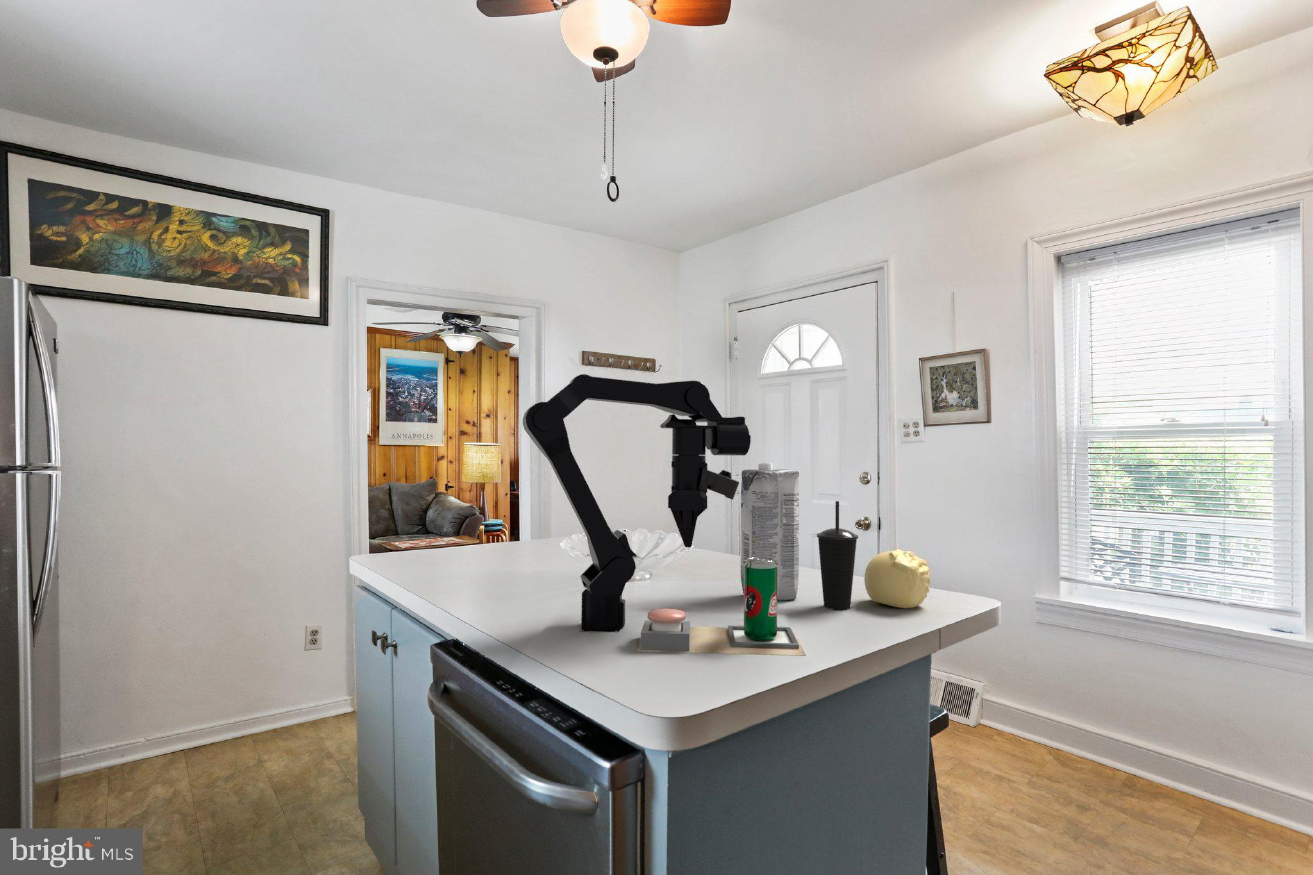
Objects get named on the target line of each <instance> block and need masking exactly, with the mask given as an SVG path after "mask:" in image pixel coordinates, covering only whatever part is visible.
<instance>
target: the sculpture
mask: <svg viewBox="0 0 1313 875" xmlns="http://www.w3.org/2000/svg"><path fill="white" fill-rule="evenodd" d="M927 562H928V561H927V560H925V559H923V558H921V557H919V556H917V555H916V553H915V552H914V551H910V550H908V551H906V550H901V549H900V548H896V549H895V550H889V551H883V552H880V553H878V554H876V555H874V556H873V557H872V558H871V559H870V561H869V562H868V564H867V565H866V566H867V567H866V568H865V570H864V576H863V577H864V587H865V591H866V593H867V595H868V597H869V599H870V600H872V601H873V602H875V603H878V604H883V605H886V606H891V607H894V608H900V609H913V608H916V607H917V606H919V605H921V604H923V603H924V601H925V599H926V598H927V597H928V593H929V592H930V588H929V586H930V584H931V573H930V572H929V571H930V568H929V566H928V563H927Z"/></svg>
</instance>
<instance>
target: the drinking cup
mask: <svg viewBox="0 0 1313 875" xmlns="http://www.w3.org/2000/svg"><path fill="white" fill-rule="evenodd" d="M834 504H835V511H834V512H835V519H834V520H835V522H834V524H835V527H833V528H827V529H825V530H822V531H821V532H818V533H816V538H817V540H818V551H819V564H820V575H821V576H820V578H821V588H822V598H823V607H824V608H826V609H830V610H837V611H843V610H849V609H850V608H851V604H852V603H851V602H852V591H853V584H854V582H853V581H854V571H855V561H856V551H857V541H858V539H859V535H858V534H856V533H853V532H852V531H850V530H849V529H848V530H847V529H844V528H840V500H836V501H835V502H834Z"/></svg>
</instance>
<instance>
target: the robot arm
mask: <svg viewBox="0 0 1313 875" xmlns="http://www.w3.org/2000/svg"><path fill="white" fill-rule="evenodd" d="M710 396H711V395H710V391H709V388H708V387H707V386H706V385H705V383H703V382H702V381H699V380H684V381H683V380H681V381H670V382H664V383H663V382H662V383H656V382H655V383H653V382H644V381H637V380H636V381H635V380H625V379H618V378H617V379H616V378H611V377H610V378H608V377H601V376H600V377H599V376H592V375H589V374H586V373H583V374H579V375H576V376H575V377H573V378H572V379H571V380H570V381H569V384H567V385H566V386H564V387H563V388H562V389H561V390H560V391H558V392H557V393H556V394H555V395H553V396H552V397H551V398H550V399H548V401H540V402H537V403H534V404H533V405H532V406H530V407H529V408H528V409H527V410H526V411H524V415H523V417H522V426H523V429H524V432H526V434H527V435H528V437H529V438H530V439H531V440H532V442H533V443H534V445H535V446H536V447H537V449H538V450H539V451H540V452H541V453H542V454H543V455H544V457H545V458H546V459H547V460H548V462H549V464H550V466H551V468H552V470H553V471H554V472H553V473H554V474H555V476H556V478H557V480H558V482H559V485H560V486H561V488H562V490H563V492H564V494H565V496H566V498H567V500H568V502H569V503H570V506H571V508H572V509H573V512H574V513H575V515H576V517H577V519H578V521H579V524H580V525H581V526H580V527H582V530H583V531H584V534H585V536H586V542H587V545H588V551H589V554H590V558H591V560H592V563H591V564H590V565H589V566H588V567H587V568H586V569H585V570H584V571H583V572H582V573H581V575H580V576H579V577H580V579H581V582H582V586H583V588H585V589H584V590H582V591H581V614H580V615H581V619H580V620H581V627H580V628H579V630H578V631H579V632H587V633H588V632H589V633H591V632H593V633H594V632H596V633H619V632H620V631H621V629H623V628H625V625H626V599H624V598H623V592H624V590H625V587H626V584H627V583H629V581H631V580H632V578H633V577H634V574H635V572H636V569H637V568H636V567H637V566H636V565H637V564H636V561H635V559H634V557H637V553H636V552H634V551H633V549H632V548H631V546H630V543H629V539H628V537H627V535H626V533H624V532H623V531H621V530H619V529H616V530H615V531H613V530H612V529H611V528H610V526H609V524H608V522H607V520H606V518H605V517H604V515H603V512H602V510H601V508H600V506H599V504H598V502H597V500H596V498H595V496H594V495H593V492H592V490H591V489H590V487H589V484H588V482H587V481H586V478H585V476H584V474H583V472H582V471H581V468H580V466H579V464H578V462H577V461H576V458H575V456H574V454H573V452H572V450H571V445H570V440H569V439H570V438H569V435H568V430H567V427H566V424H565V421H564V419H565V418H567V416H570V414H572V412H574V411H575V410H576V409H577V408H578V407H579V406H580V405H581V404H583V403H584V402H585V401H587V400H588V401H596V402H604V403H605V402H606V403H617V404H627V405H637V406H645V407H651V408H655V409H657V410H661V411H663V412H665V413H669V415H668V417H667V418H666V419H665V421H663V422H662V423H661V424H660V425H659V426H660V427H659V428H661V429H671V430H672V431H671V432H672V434H671V435H672V438H671V444H672V445H671V486H670V488H671V491H670V494H669V495H668V496H667V509H669V510H670V511H671V514H672V517H673V519H674V522H675V525H676V527H677V529H678V532H679V534H680V537H681V540H682V542H683V545H684V548H692V546H693V542H694V536H695V532H696V531H695V530H696V525H697V521H698V517H699V516H701V514H702V513H704V512H705V511H706V510H708V495H707V493H708V490H709V491H712V492H714V493H717V494H719V495H723V496H724V497H725V498H726V499H730V500H734V498H735V496H736V493H737V490H738V487H739V485H740V481H738V480H736V479H733V478H732V472H730V471H728V470H725V469H722V470H721V471H720V472H719V473H717V472H714V471H711V470H708V463H707V461H706V460H707V459H706V456H707V455H706V453H707V452H706V451H707V450H708V451H709V450H710V453H711V454H712V455H713V456H746V455H747V454H748V453H749V450H750V447H751V441H752V440H751V438H752V437H751V434H750V430H749V428H748V425H747V424H746V417H745V416H731V417H729V416H728V417H727V416H725V417H723V416H722V414H721V413H720V411H719V410H718V408H717V407H716V406H715V404H714V403H713V401H712V399H711V397H710ZM677 416H679V417H688V418H679V417H677ZM697 423H706V424H707V425H703V424H701V425H698V424H697ZM706 449H707V450H706Z"/></svg>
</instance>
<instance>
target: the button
mask: <svg viewBox="0 0 1313 875" xmlns="http://www.w3.org/2000/svg"><path fill="white" fill-rule="evenodd" d="M647 620H650V621H652V631H670V632H681V621H684V620H686V612H685V611H683V610H680V609H676V608H656V609H651V610H649V611H648V612H647Z"/></svg>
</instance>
